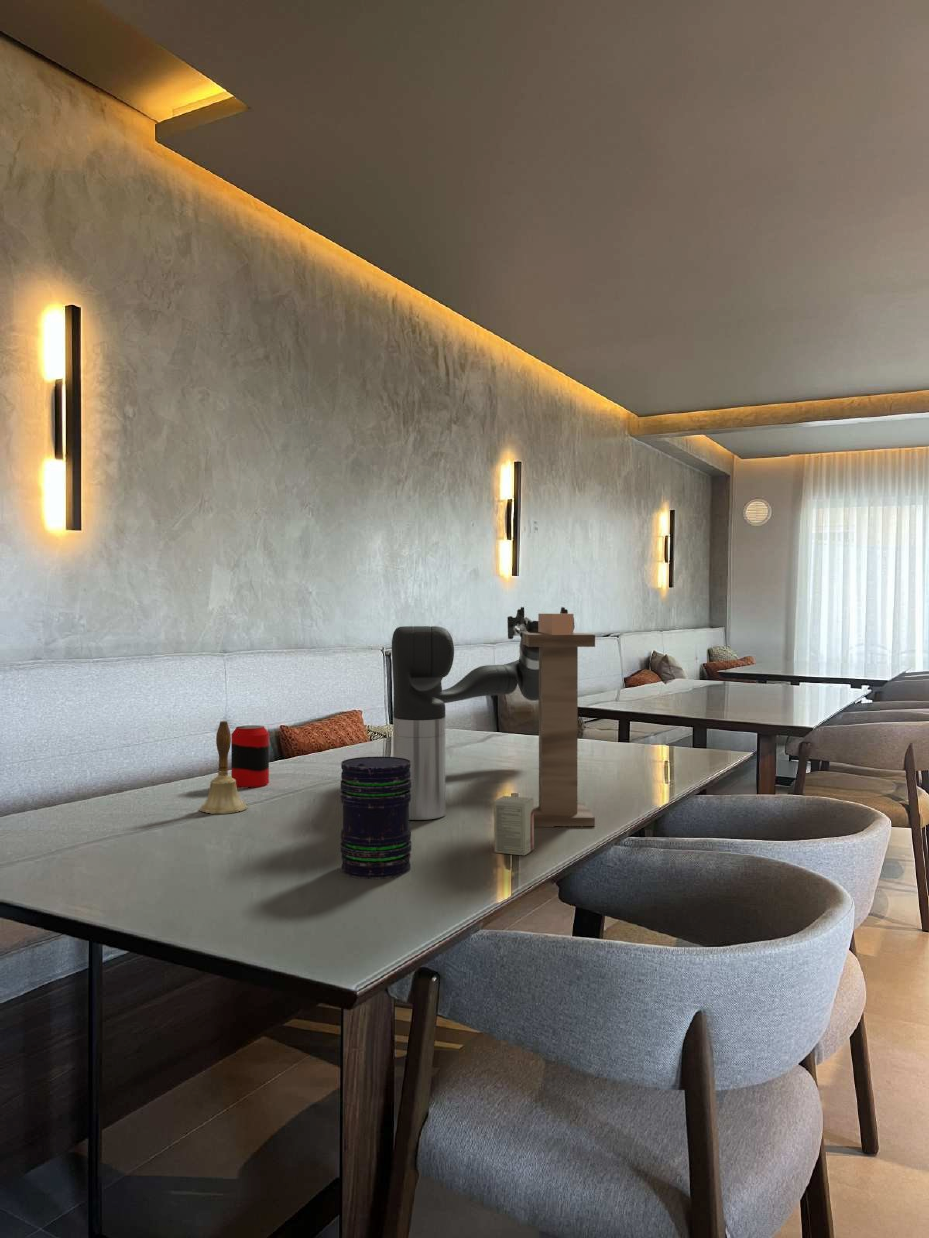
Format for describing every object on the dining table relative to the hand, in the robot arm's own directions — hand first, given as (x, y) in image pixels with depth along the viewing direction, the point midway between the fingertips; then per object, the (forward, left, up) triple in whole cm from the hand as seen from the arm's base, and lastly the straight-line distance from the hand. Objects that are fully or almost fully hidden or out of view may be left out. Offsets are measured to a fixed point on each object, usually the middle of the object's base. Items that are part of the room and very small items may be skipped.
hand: (542, 610), depth 196 cm
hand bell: (-65, +3, -36) cm, 75 cm away
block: (-13, -26, -4) cm, 29 cm away
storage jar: (-54, -46, -36) cm, 80 cm away
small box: (-32, -46, -36) cm, 67 cm away
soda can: (-55, +25, -36) cm, 71 cm away
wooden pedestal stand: (-15, -29, -36) cm, 49 cm away
